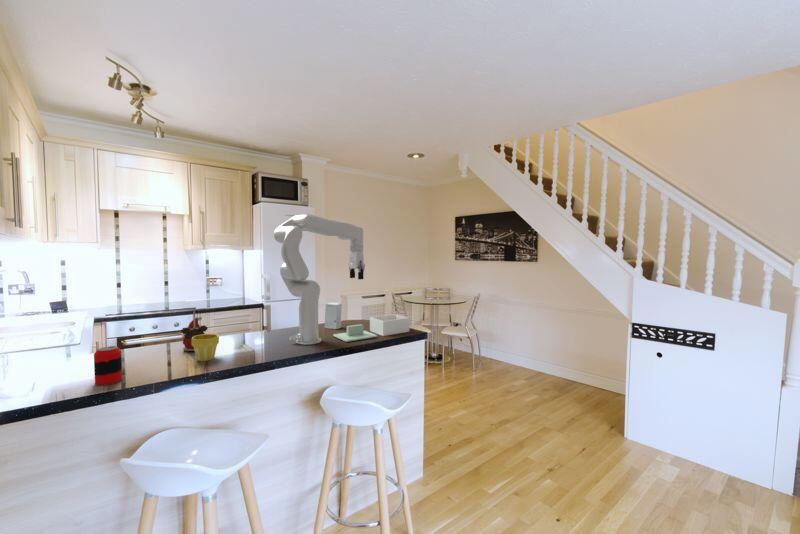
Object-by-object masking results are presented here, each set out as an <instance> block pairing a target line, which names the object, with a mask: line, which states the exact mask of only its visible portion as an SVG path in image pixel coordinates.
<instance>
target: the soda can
mask: <svg viewBox="0 0 800 534" xmlns="http://www.w3.org/2000/svg"><path fill="white" fill-rule="evenodd" d="M122 360H123V359H122V349H120V348H119V347H118V346H114V345H112V346H104V347H100V348H98V349H96V351H95V352H94V353H93V364H94V365H93V366H94V369H93V370H94V384H95V386H100V385H102V386H108V384H110V385H113V384H112V383H114V384H117V383H119V382H121V381H122V380H123V365H122V364H123V363H122V362H123V361H122ZM120 380H121V381H120ZM118 381H119V382H118ZM116 382H117V383H116Z"/></svg>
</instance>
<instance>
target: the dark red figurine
mask: <svg viewBox="0 0 800 534" xmlns="http://www.w3.org/2000/svg"><path fill="white" fill-rule="evenodd" d="M192 317H193V319H192V320H191V321H190V322H189V323H188V325H187V326H186V327H183V328H182V329H180V333H181V334H183V337H182V344H183V345H184V346H183V347H182V350H183V351H186V352H187V351H189V352H195V351H194V347H193V346H192V337H193V336H196V335H202V334H206V333H205V332H207V331H208V326H207V325H200V324H199V321H202V320H203V316H201V315H199V316H197V317H196V311H195V310H193V311H192Z"/></svg>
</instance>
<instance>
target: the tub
mask: <svg viewBox="0 0 800 534" xmlns="http://www.w3.org/2000/svg"><path fill="white" fill-rule="evenodd" d="M369 332H370V333H373V334H376V335H380V336H382V337H384V336H390V335H397V334H402V333H403V334H404V333H410V317H408V316H405V315H400V314H396V313H395V314H394V313H393V314H386V315H378V316H377V315H376V316H370V317H369Z"/></svg>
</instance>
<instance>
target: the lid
mask: <svg viewBox="0 0 800 534" xmlns="http://www.w3.org/2000/svg"><path fill="white" fill-rule="evenodd" d="M332 336H333V337H335V338H337V339H339V340H341V341H343V342H346V343H348V342H354V341H361V340H367V339H373V338H377V337H378V334H376V333H374V332H371V331H368V330H364V324H361V323H359V324H353V325H347V326H346V332H341V333H340V332H339V333H334V334H333V335H332Z"/></svg>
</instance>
